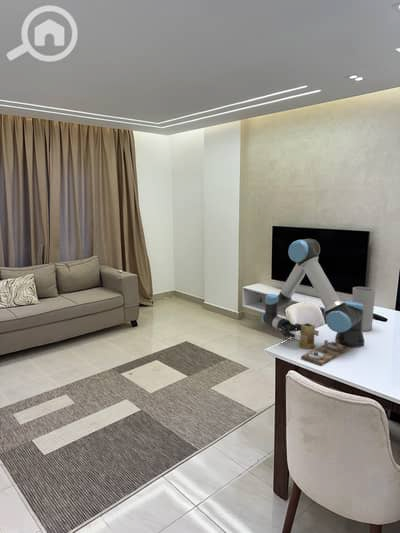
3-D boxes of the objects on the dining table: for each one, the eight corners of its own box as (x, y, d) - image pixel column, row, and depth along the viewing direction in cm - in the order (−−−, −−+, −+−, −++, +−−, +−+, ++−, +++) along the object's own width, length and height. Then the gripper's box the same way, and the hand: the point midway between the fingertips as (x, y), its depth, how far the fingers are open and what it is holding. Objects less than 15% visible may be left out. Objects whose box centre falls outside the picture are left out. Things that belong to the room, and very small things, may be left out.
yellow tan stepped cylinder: (306, 342, 207) (307, 321, 205) (318, 347, 200) (319, 326, 198) (295, 345, 203) (296, 324, 201) (306, 350, 196) (308, 328, 194)
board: (328, 344, 204) (329, 331, 203) (348, 350, 196) (349, 337, 195) (301, 358, 185) (301, 344, 184) (321, 365, 177) (322, 351, 176)
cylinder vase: (352, 323, 240) (355, 285, 236) (373, 327, 233) (377, 288, 229) (347, 328, 230) (350, 289, 226) (369, 332, 223) (372, 292, 219)
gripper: (297, 327, 224) (324, 338, 206) (265, 334, 212) (291, 346, 194) (297, 315, 223) (325, 325, 205) (265, 321, 210) (292, 332, 192)
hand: (309, 335), depth 199 cm, fingers open, 13 cm apart
